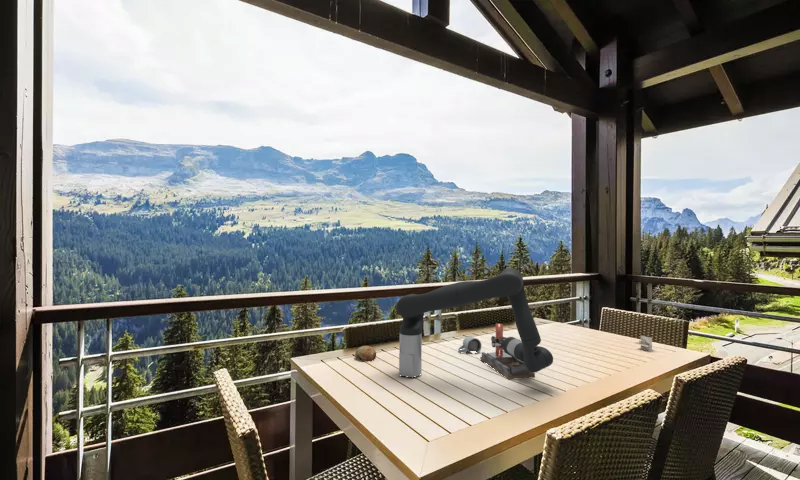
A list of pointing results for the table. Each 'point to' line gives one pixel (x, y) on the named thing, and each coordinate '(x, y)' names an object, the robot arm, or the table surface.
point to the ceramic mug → (470, 344)
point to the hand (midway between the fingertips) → (496, 338)
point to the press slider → (499, 353)
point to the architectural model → (645, 343)
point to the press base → (508, 367)
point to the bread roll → (365, 353)
